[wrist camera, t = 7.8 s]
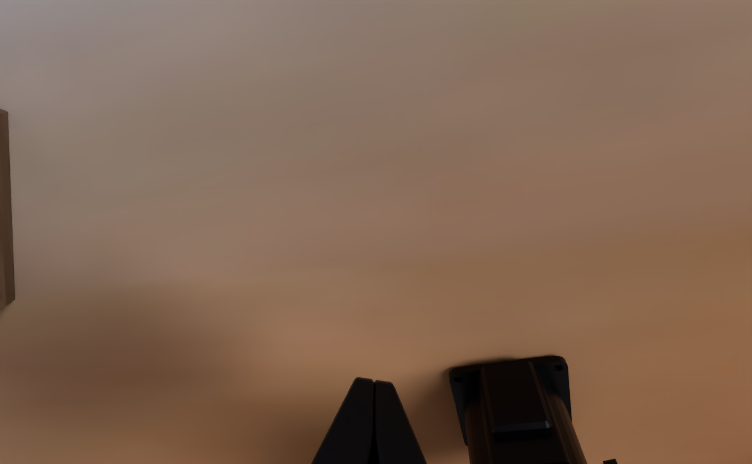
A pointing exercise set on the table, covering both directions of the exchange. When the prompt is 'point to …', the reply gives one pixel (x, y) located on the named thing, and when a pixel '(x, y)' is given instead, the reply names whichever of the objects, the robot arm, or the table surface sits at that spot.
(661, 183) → the table surface
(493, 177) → the table surface
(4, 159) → the walnut box
